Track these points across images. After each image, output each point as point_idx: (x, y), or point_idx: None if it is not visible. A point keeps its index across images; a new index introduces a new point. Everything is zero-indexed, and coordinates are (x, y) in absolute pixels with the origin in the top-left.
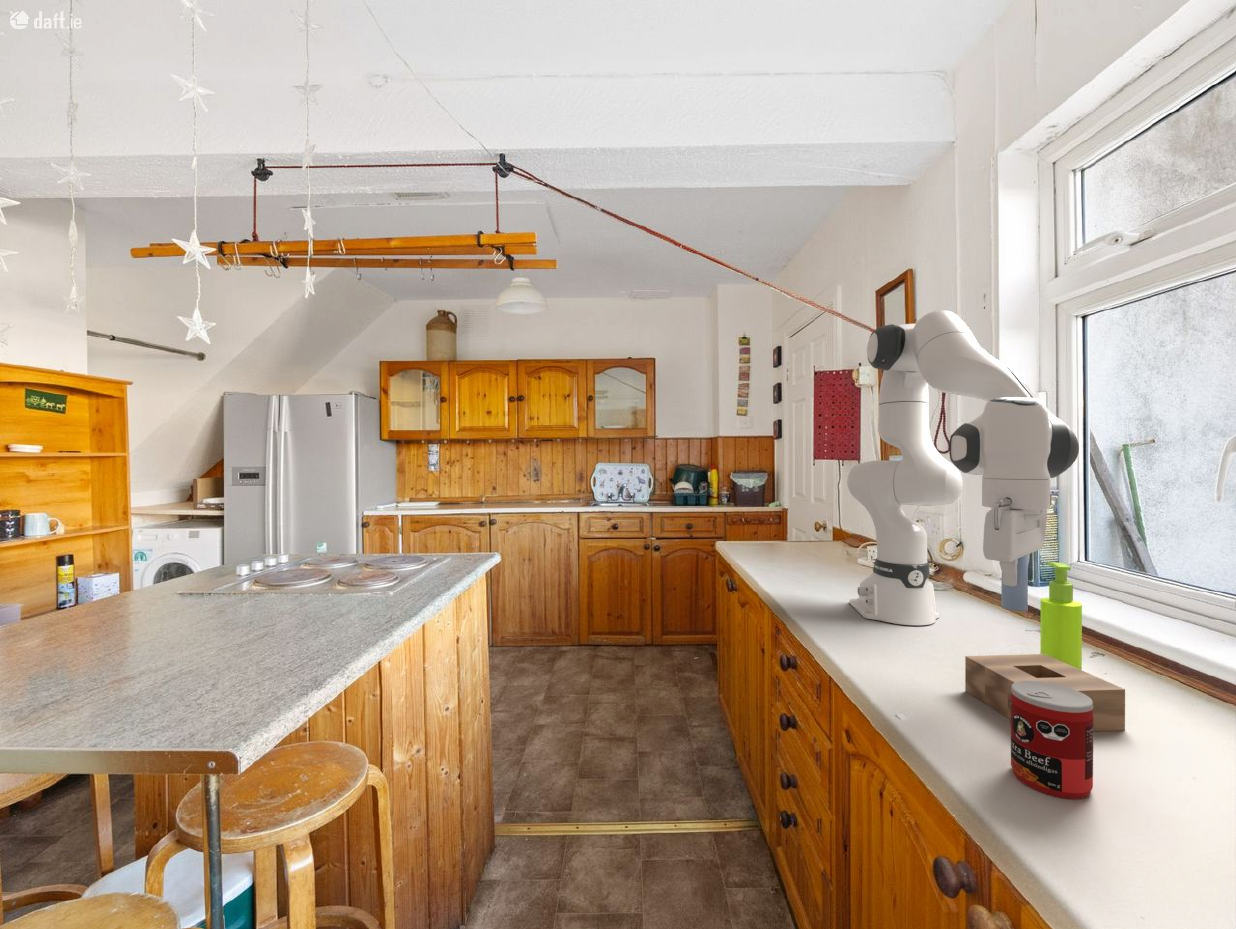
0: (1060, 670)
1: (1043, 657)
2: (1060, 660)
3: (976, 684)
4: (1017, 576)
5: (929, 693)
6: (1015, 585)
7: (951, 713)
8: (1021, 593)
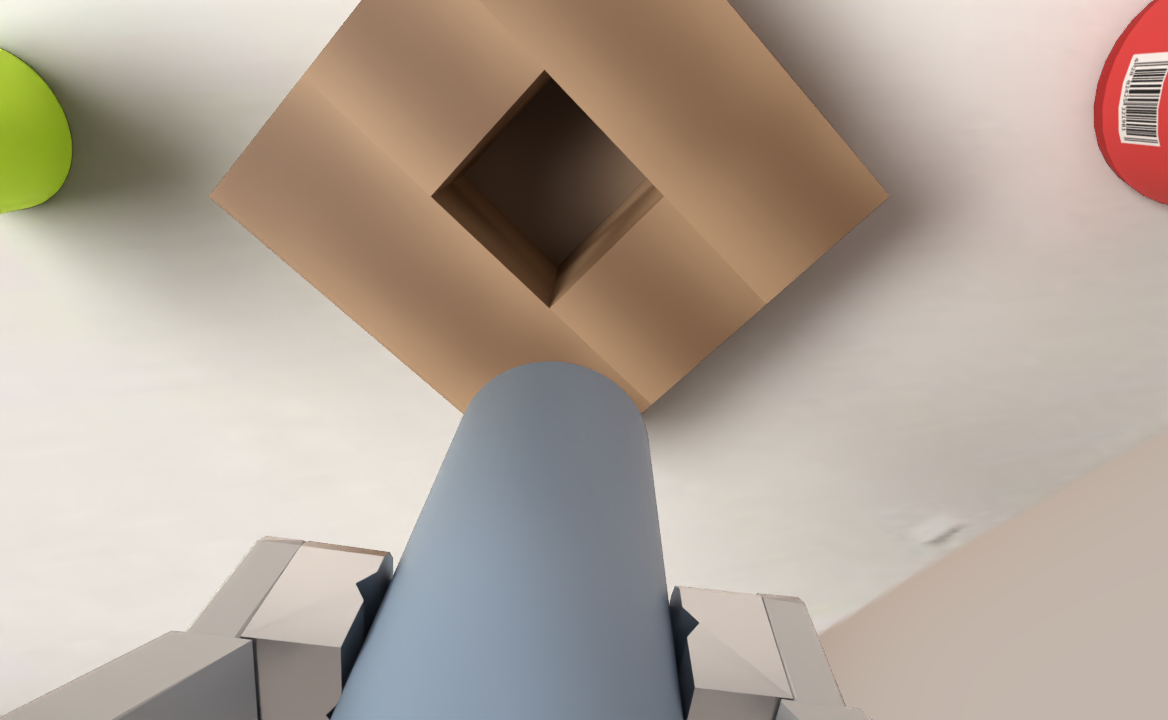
0: (447, 105)
1: (280, 195)
2: (1, 129)
3: None
4: (763, 672)
5: (672, 502)
6: (754, 594)
7: (811, 416)
8: (633, 484)
